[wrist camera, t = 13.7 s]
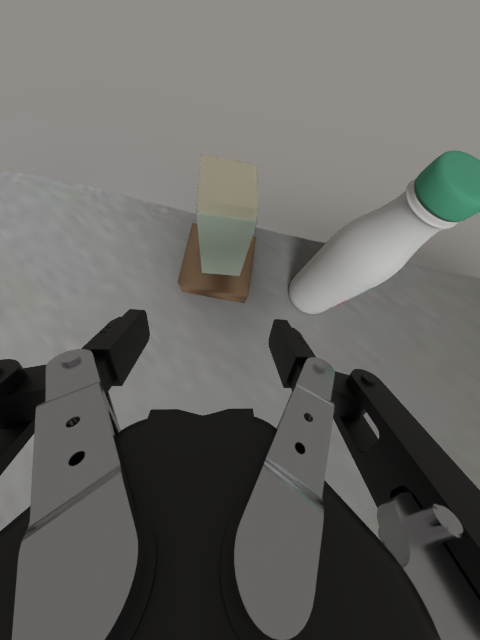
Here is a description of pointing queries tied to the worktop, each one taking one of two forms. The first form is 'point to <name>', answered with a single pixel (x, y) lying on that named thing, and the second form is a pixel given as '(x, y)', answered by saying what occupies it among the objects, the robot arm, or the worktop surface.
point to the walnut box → (213, 283)
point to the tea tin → (226, 213)
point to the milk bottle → (389, 234)
